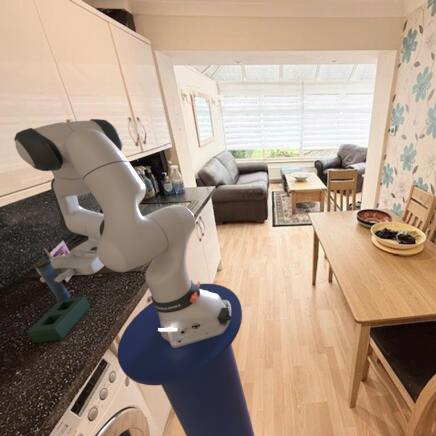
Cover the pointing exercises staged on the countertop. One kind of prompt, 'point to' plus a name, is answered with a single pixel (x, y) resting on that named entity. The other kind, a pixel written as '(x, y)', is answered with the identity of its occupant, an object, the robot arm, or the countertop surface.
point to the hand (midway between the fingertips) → (49, 280)
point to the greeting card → (59, 253)
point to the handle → (48, 275)
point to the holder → (59, 320)
